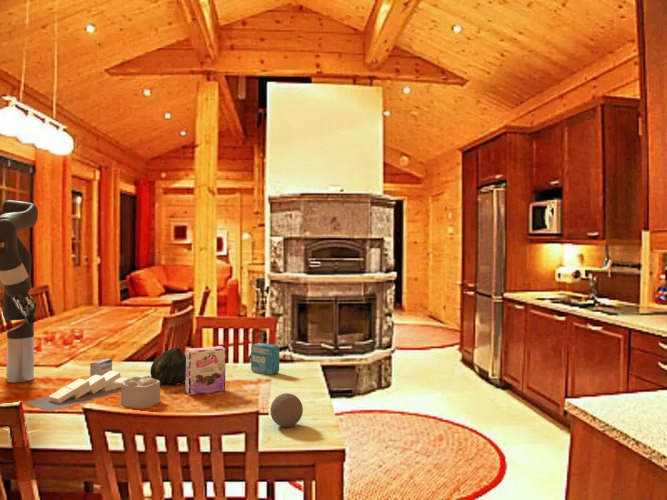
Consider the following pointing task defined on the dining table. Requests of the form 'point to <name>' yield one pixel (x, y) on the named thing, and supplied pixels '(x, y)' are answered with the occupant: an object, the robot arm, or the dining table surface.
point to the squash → (169, 367)
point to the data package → (265, 358)
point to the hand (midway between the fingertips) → (31, 322)
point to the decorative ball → (286, 410)
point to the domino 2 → (93, 382)
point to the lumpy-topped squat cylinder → (140, 392)
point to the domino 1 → (69, 390)
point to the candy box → (205, 370)
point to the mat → (69, 400)
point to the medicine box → (100, 367)
